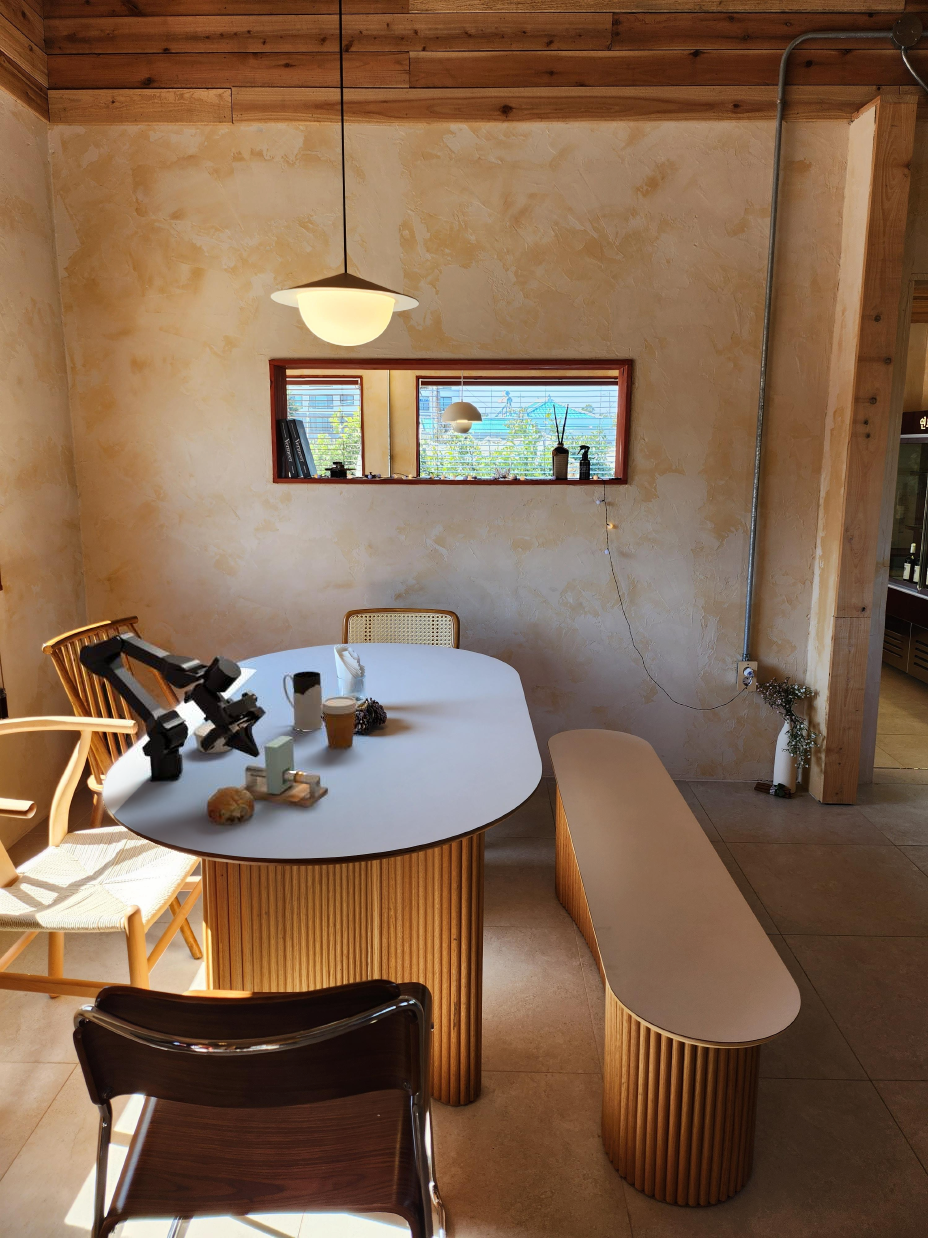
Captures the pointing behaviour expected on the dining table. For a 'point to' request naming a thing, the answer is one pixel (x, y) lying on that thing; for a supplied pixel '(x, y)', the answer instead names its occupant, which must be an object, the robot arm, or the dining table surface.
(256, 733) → the dining table surface
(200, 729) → the ramekin
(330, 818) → the dining table surface
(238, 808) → the bread roll
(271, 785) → the sage green slotted block
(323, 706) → the disposable coffee cup
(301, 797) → the walnut board
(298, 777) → the grey metal pipe
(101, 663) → the robot arm
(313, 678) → the black and white mug
